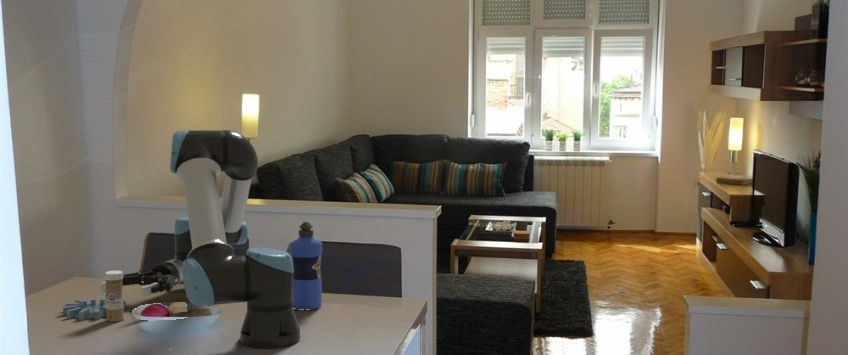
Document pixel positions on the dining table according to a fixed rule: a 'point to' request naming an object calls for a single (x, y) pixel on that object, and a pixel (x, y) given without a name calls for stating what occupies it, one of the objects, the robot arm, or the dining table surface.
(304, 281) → the water bottle
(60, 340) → the dining table surface
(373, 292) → the dining table surface
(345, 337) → the dining table surface
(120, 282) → the sprinkles bottle
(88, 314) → the blue gear trivet
